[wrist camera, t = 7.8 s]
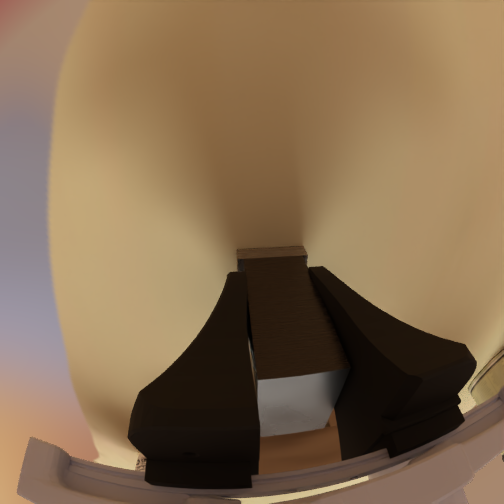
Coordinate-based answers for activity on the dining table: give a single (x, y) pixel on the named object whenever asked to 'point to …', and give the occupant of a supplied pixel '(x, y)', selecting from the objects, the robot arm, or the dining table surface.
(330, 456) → the walnut u-shaped block
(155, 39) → the dining table surface
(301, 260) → the brown-topped white block
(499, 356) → the coffee can
